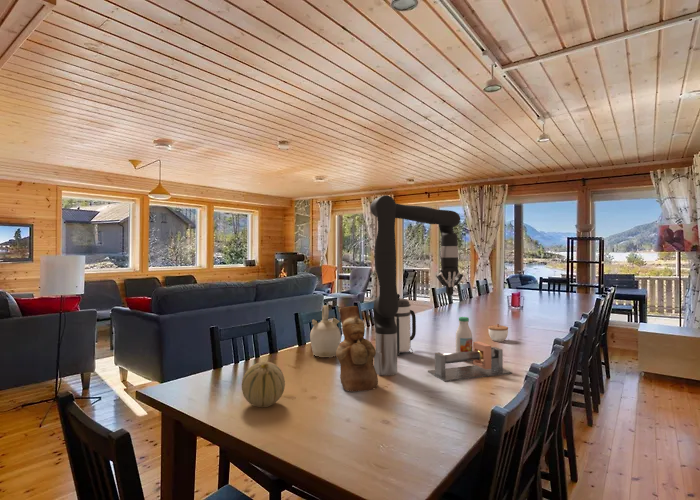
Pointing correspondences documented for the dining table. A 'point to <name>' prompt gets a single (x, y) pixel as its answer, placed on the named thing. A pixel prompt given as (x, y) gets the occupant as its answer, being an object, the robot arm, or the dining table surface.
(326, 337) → the jug
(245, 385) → the cantaloupe
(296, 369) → the dining table surface
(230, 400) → the dining table surface
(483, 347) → the collar
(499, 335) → the lidded jar
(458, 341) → the milk bottle
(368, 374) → the ceramic vessel
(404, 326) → the coffee press
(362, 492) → the dining table surface
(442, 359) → the rail
